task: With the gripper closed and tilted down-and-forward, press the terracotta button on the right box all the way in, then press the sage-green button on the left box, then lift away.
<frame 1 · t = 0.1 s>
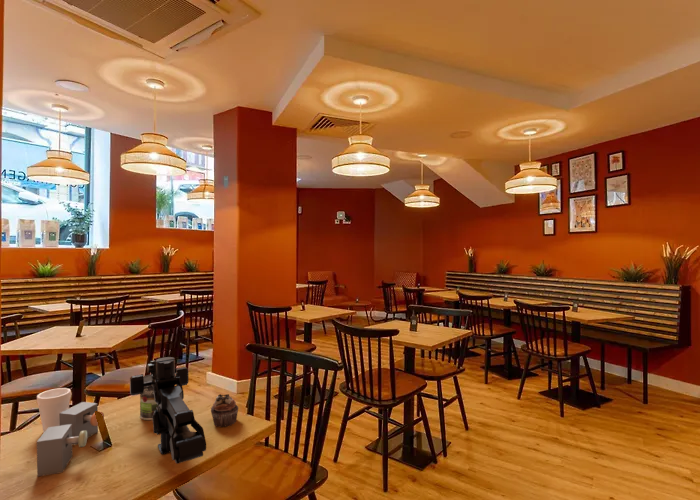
hand: (155, 374, 149), 17 cm above the table, tool horizontal, fingers open, 9 cm apart
coffee can: (155, 414, 153), on the table
sage button: (73, 439, 119), point 7 cm above the table, slide at 3.0 cm
foam cup: (54, 430, 140), on the table
cupcake: (224, 422, 147), on the table
terracotta button: (90, 418, 134), point 7 cm above the table, slide at 3.0 cm
left button box: (55, 465, 118), on the table
right button box: (79, 437, 135), on the table
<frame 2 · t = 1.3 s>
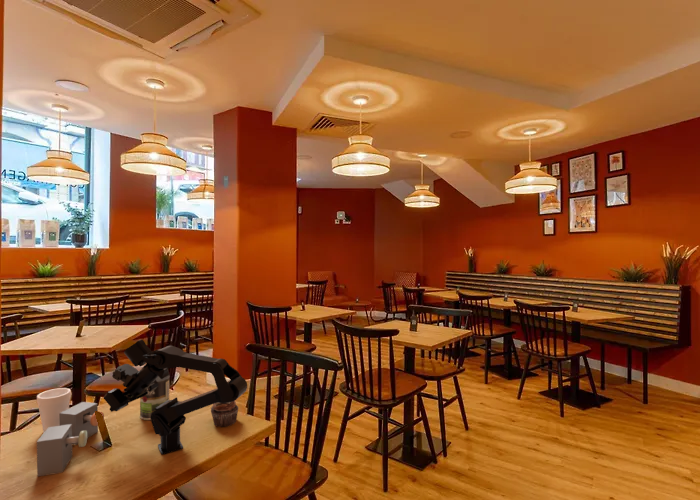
hand: (117, 406, 132), 12 cm above the table, tool tilted 45°, fingers open, 5 cm apart
nothing on the table moved.
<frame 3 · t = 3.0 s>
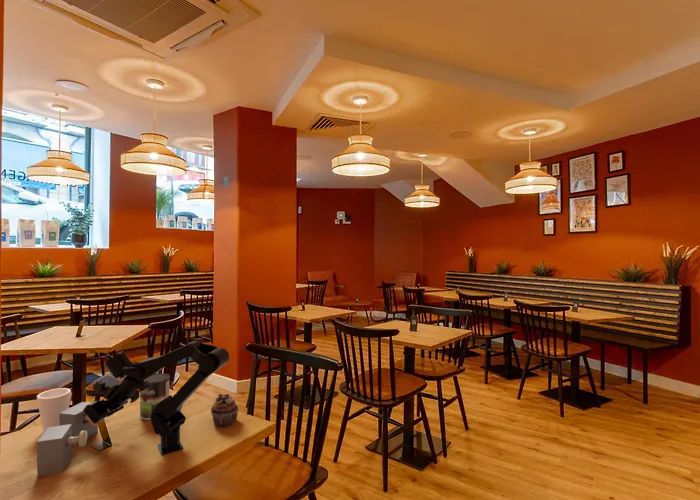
hand: (98, 418, 133), 7 cm above the table, tool tilted 45°, fingers closed, pressing on terracotta button
terracotta button: (89, 417, 134), point 7 cm above the table, slide at 2.5 cm, touching gripper
everything else where it was.
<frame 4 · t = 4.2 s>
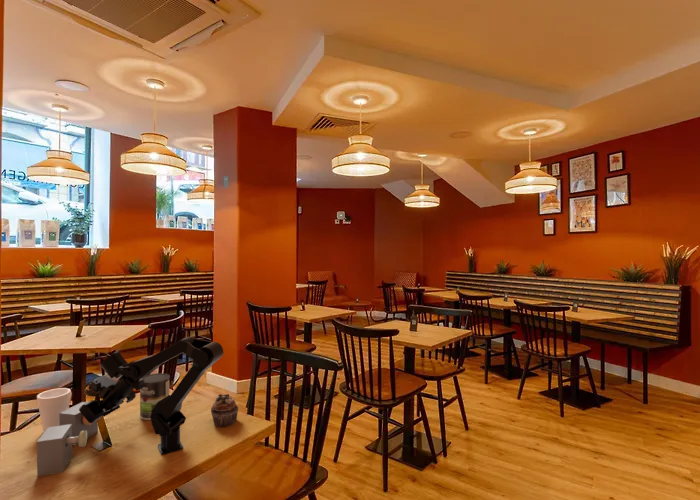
hand: (94, 418, 133), 7 cm above the table, tool tilted 45°, fingers closed
terracotta button: (82, 417, 134), point 7 cm above the table, slide at -0.1 cm
everything else where it was.
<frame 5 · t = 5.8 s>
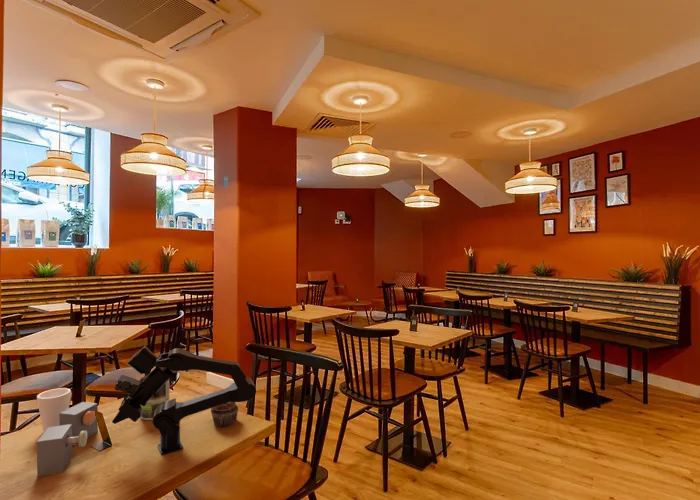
hand: (113, 422, 123), 11 cm above the table, tool tilted 45°, fingers closed
nothing on the table moved.
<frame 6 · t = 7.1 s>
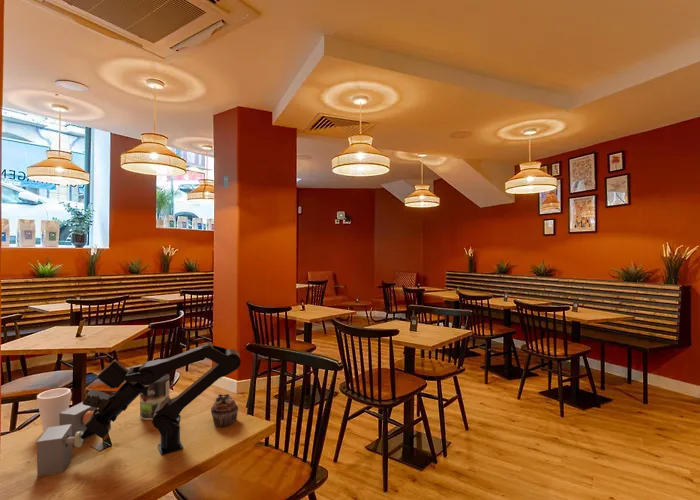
hand: (82, 437, 120), 7 cm above the table, tool tilted 45°, fingers closed, pressing on sage button
sage button: (69, 440, 119), point 7 cm above the table, slide at 1.9 cm, touching gripper
everything else where it was.
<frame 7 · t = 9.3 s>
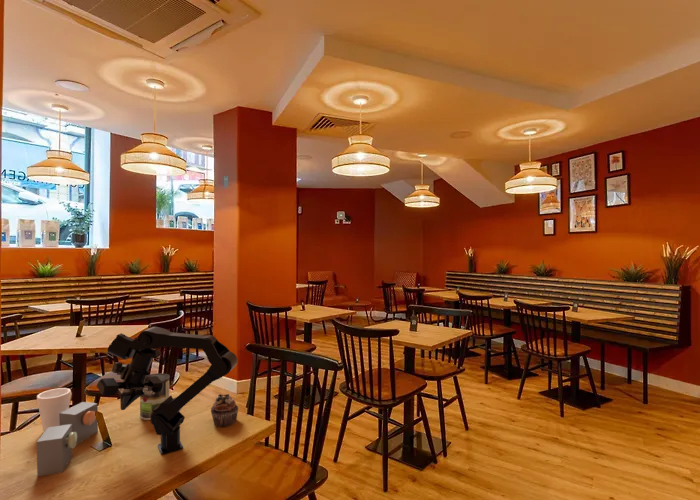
hand: (122, 409, 129), 12 cm above the table, tool tilted 20°, fingers closed
sage button: (62, 441, 119), point 7 cm above the table, slide at 0.3 cm
everything else where it was.
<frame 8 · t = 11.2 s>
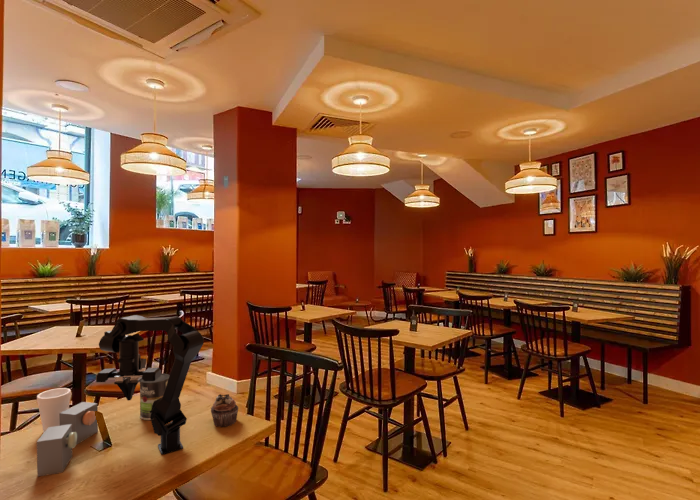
hand: (129, 400, 134), 13 cm above the table, tool pointing down, fingers closed
nothing on the table moved.
at the end: terracotta button slide at -0.1 cm; sage button slide at 0.3 cm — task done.
